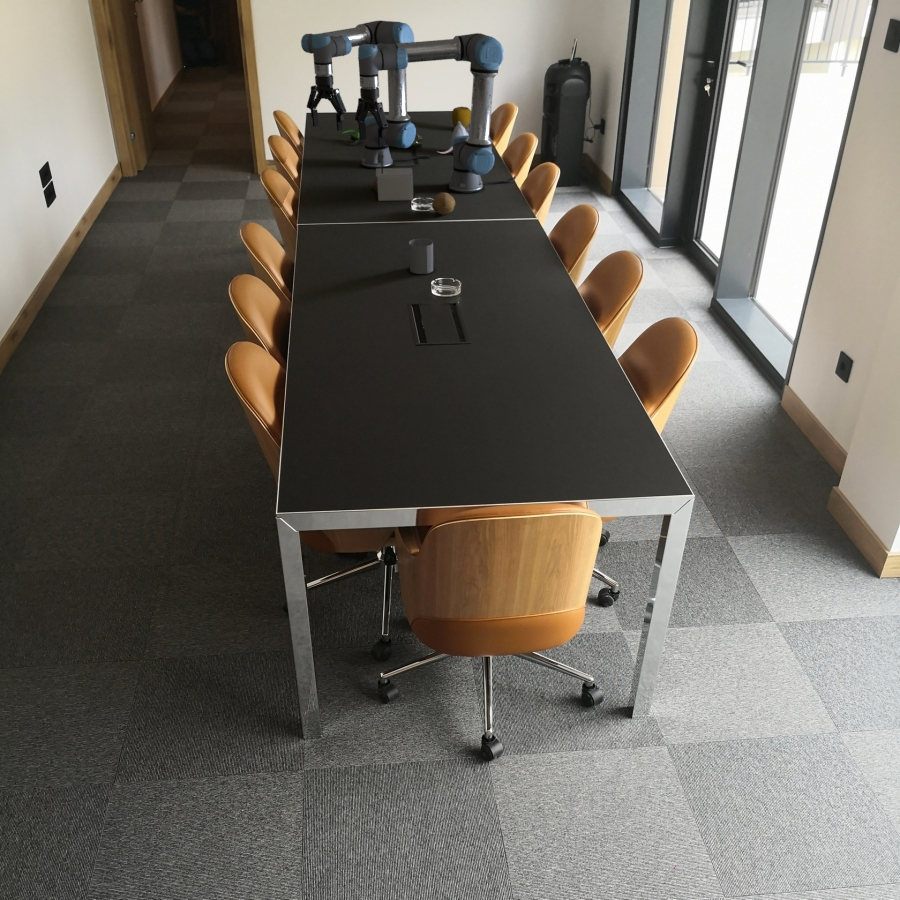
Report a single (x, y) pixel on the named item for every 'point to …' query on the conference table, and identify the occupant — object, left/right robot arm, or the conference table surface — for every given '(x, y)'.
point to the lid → (392, 170)
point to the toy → (457, 131)
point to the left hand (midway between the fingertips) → (327, 128)
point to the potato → (443, 203)
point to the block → (375, 185)
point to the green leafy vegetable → (353, 137)
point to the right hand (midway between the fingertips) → (372, 142)
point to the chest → (395, 188)
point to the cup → (421, 256)
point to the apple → (461, 116)
